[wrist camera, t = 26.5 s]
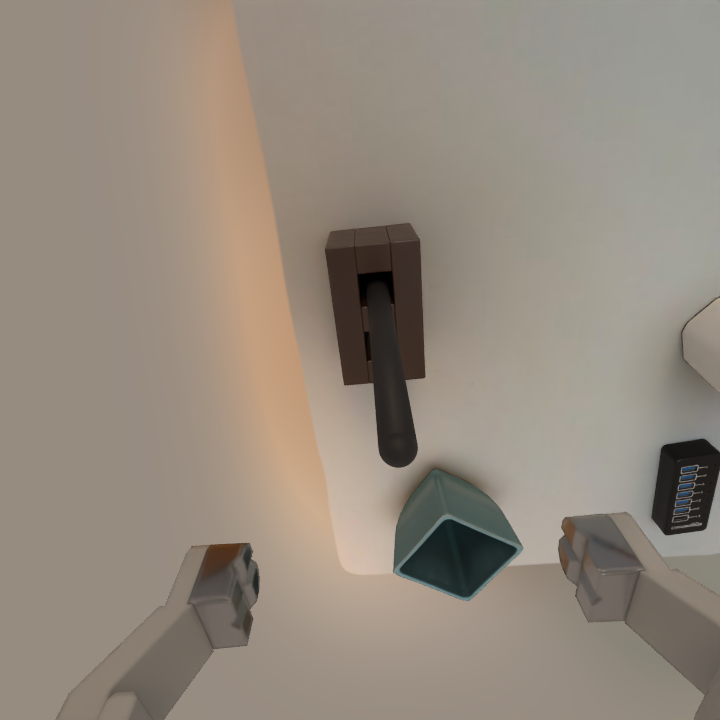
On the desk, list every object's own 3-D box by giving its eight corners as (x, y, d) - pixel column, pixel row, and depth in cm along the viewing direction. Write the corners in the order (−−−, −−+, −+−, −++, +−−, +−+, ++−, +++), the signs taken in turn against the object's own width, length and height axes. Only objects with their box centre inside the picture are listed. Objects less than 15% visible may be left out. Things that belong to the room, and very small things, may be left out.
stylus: (360, 266, 35) (371, 465, 17) (372, 251, 35) (397, 441, 16) (375, 277, 36) (402, 481, 18) (387, 262, 35) (428, 458, 17)
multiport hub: (707, 438, 44) (724, 453, 42) (691, 514, 49) (706, 530, 47) (661, 445, 44) (676, 460, 42) (651, 519, 49) (664, 536, 47)
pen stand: (346, 352, 39) (344, 385, 34) (330, 231, 34) (324, 248, 29) (416, 345, 39) (425, 378, 33) (410, 222, 34) (420, 238, 29)
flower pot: (429, 446, 44) (445, 514, 36) (497, 478, 46) (526, 549, 38) (385, 501, 48) (390, 574, 40) (450, 528, 50) (468, 603, 42)
